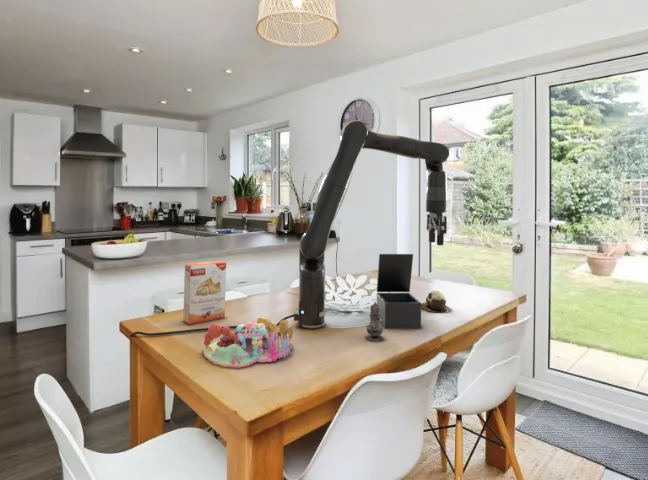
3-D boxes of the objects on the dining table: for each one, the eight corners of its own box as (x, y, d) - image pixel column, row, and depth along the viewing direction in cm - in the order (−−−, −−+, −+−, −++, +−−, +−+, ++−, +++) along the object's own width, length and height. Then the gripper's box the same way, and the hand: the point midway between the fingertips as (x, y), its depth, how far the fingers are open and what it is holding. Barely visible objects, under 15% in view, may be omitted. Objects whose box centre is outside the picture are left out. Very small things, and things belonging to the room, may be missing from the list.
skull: (412, 302, 174) (426, 284, 176) (428, 318, 176) (442, 299, 178) (427, 309, 162) (442, 289, 164) (444, 326, 164) (459, 305, 166)
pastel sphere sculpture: (251, 331, 139) (252, 304, 139) (307, 347, 125) (308, 317, 125) (190, 354, 118) (190, 322, 118) (248, 377, 105) (249, 340, 105)
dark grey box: (420, 328, 145) (421, 303, 145) (385, 328, 144) (385, 303, 144) (409, 315, 159) (409, 292, 159) (376, 315, 159) (376, 292, 159)
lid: (413, 254, 155) (412, 253, 156) (379, 254, 154) (379, 253, 155) (409, 292, 159) (409, 291, 160) (377, 292, 158) (376, 291, 159)
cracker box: (189, 325, 144) (190, 265, 144) (182, 321, 149) (183, 263, 149) (225, 318, 153) (226, 261, 153) (218, 314, 158) (219, 259, 158)
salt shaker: (383, 342, 130) (383, 304, 130) (364, 340, 132) (365, 303, 132) (384, 336, 136) (384, 299, 136) (366, 334, 137) (366, 298, 137)
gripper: (420, 198, 157) (419, 241, 156) (433, 199, 142) (432, 246, 142) (439, 199, 157) (439, 241, 157) (454, 199, 143) (453, 246, 143)
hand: (435, 243), depth 150 cm, fingers open, 8 cm apart
